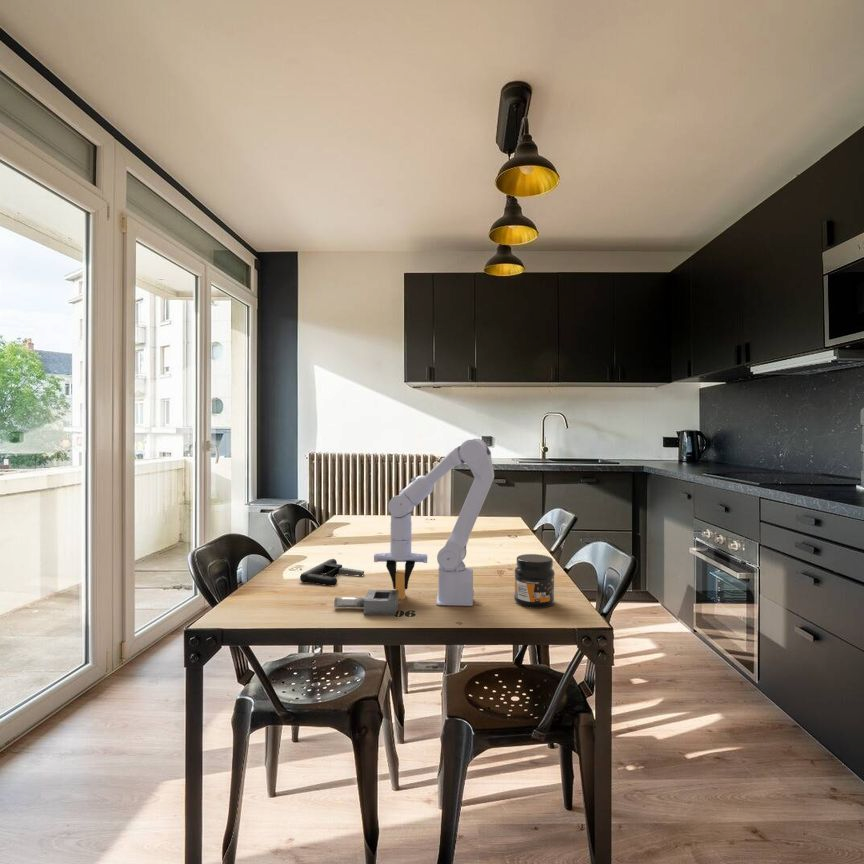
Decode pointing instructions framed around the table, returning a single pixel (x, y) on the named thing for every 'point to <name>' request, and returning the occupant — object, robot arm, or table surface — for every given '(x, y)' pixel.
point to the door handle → (327, 573)
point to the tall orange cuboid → (400, 583)
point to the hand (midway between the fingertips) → (400, 588)
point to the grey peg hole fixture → (373, 602)
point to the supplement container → (534, 581)
